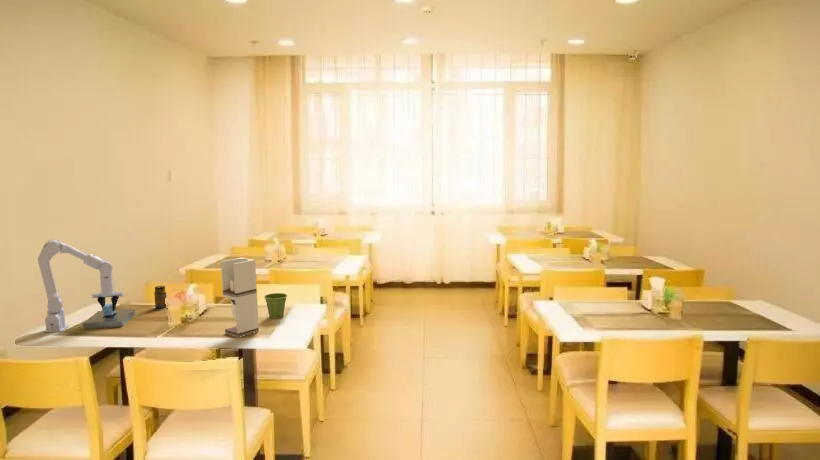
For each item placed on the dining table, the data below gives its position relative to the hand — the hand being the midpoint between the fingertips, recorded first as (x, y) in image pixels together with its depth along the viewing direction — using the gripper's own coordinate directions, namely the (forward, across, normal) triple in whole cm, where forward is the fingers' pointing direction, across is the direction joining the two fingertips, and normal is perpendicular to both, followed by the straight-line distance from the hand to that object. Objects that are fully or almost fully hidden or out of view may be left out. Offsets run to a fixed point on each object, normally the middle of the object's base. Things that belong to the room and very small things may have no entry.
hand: (109, 310), depth 306 cm
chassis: (+6, 0, 0) cm, 6 cm away
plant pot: (+6, -84, +10) cm, 85 cm away
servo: (+2, 0, 0) cm, 2 cm away
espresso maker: (+6, -69, +34) cm, 77 cm away
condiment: (+6, -20, -22) cm, 30 cm away
